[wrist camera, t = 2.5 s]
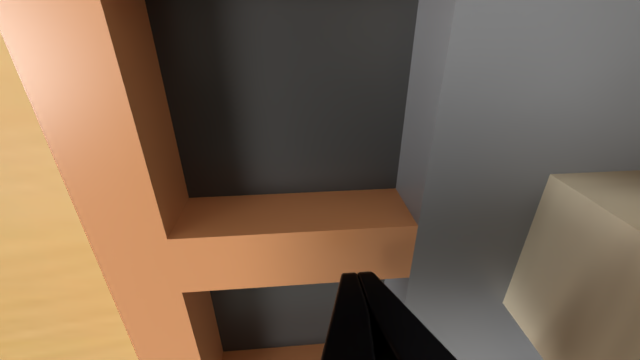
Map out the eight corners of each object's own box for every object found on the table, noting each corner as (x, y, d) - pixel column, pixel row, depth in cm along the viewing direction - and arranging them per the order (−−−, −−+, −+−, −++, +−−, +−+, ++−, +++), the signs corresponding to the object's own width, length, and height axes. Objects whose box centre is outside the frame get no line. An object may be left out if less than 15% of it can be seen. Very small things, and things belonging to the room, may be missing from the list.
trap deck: (1041, -50, 10) (1791, -108, 5) (727, 317, 17) (900, 439, 12) (47, -62, 8) (-376, -183, 3) (183, 362, 15) (134, 530, 10)
